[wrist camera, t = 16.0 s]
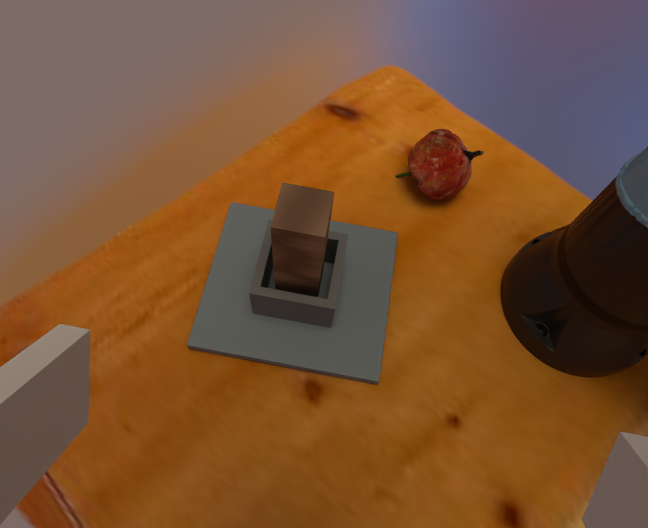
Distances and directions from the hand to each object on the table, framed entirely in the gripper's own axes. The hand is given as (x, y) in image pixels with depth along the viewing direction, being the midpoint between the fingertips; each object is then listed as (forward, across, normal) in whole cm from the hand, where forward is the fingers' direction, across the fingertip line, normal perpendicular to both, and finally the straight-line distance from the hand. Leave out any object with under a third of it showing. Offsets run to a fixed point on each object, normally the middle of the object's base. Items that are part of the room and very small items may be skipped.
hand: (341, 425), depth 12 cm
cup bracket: (+36, -4, -11) cm, 38 cm away
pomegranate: (+48, +8, 0) cm, 48 cm away
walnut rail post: (+35, -4, -10) cm, 37 cm away
